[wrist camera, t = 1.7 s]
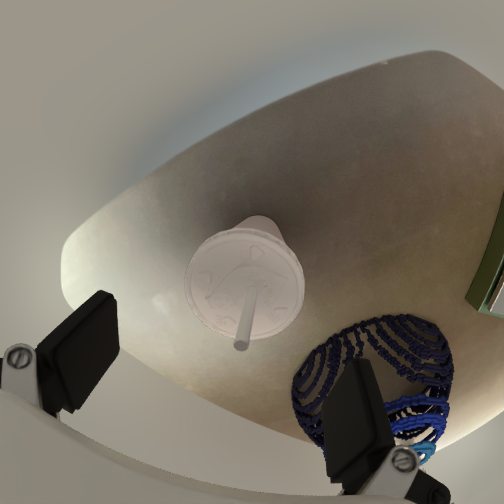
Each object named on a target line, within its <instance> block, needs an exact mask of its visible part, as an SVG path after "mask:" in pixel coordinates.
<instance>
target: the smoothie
mask: <svg viewBox="0 0 504 504" xmlns="http://www.w3.org/2000/svg"><path fill="white" fill-rule="evenodd" d="M304 283H305V280H304V275H303V270H302V266H301V264H300V263H299V261H298V259H297V257H296V255H295V253H294V252H293V251H292V250H291V249H290V248H289V247H288V246H287V245H286V244H285V242H284V240H283V237H282V235H281V233H280V231H279V228H278V226H277V225H276V224H275V222H273V221H272V220H271V219H269V218H268V217H265V216H260V215H256V216H251V217H248V218H246V219H245V220H244V221H242V222H241V223H239V224H238V225H236V226H235V227H234V228H232V229H230V230H226V231H221V232H219V233H217V234H215V235H214V236H212V237H210V238H208V239H207V240H206V241H205V242H204V243H203V244H202V245H201V246H200V247H199V248H198V249H197V250H196V252H195V254H194V256H193V257H192V259H191V261H190V263H189V265H188V267H187V270H186V274H185V292H186V296H187V300H188V302H189V305H190V307H191V308H192V310H193V312H194V313H195V314H196V316H197V317H198V318H199V319H200V320H201V321H202V322H203V323H204V324H205V325H206V326H208V327H209V328H210V329H212V330H213V331H215V332H217V333H219V334H221V335H223V336H226V337H229V338H233V339H235V341H234V348H235V349H236V350H238V351H245V350H247V349H248V346H249V341H250V340H259V339H264V338H268V337H271V336H273V335H275V334H277V333H279V332H281V331H283V330H284V329H285V328H287V327H288V326H289V325H290V324H291V323H292V322H293V321H294V320H295V318H296V317H297V315H298V314H299V312H300V310H301V307H302V304H303V301H304V293H305V288H304Z"/></svg>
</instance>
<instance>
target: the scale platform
mask: <svg viewBox="0 0 504 504" xmlns="http://www.w3.org/2000/svg"><path fill="white" fill-rule="evenodd" d="M487 309H488V310H489V311H490V312H493V313H497V314H501V315H504V271H503V274H502V276H501V278H500V281H499V283H498V285H497V287H496V289H495V291H494V294H493V296H492V298H491V300H490V302H489V304H488V306H487Z"/></svg>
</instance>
